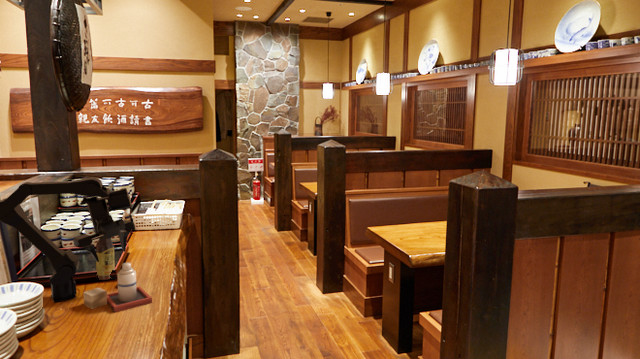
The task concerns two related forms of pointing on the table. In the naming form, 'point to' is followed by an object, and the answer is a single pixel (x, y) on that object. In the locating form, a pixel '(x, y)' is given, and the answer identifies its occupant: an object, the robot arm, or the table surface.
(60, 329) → the table surface
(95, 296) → the wooden masu box
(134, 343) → the table surface
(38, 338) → the table surface
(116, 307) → the lacquer tray
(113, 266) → the sauce bottle
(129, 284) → the white sake bottle
